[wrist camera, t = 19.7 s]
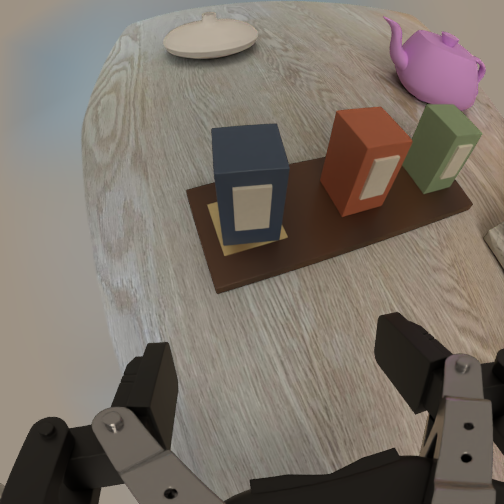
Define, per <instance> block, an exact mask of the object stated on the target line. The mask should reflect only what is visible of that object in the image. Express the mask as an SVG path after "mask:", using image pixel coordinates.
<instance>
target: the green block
mask: <svg viewBox="0 0 504 504" xmlns="http://www.w3.org/2000/svg"><path fill="white" fill-rule="evenodd" d="M481 135H482V133H481V131H480V130H479V129H478V128H477V127H476V126H475V125H474V124H473V123H472V122H471V121H470V120H469V119H468V118H467V117H466V116H465V115H464V114H463V113H462V112H461V111H460V110H459V109H458V108H457V107H456V106H455V105H454V104H427V105H426V107H425V109H424V112H423V114H422V116H421V119H420V121H419V123H418V126H417V128H416V130H415V133H414V135H413V137H412V141H413V142H412V145H411V147H410V149H409V151H408V153H407V155H406V158H405V160H404V162H403V164H402V166H403V167H404V168H405V170H406V171H407V172H408V174H409V175H410V176H411V178H412V179H413V180H414V182H415V183H416V184H417V186H418V187H419V188H420V190H421V191H422V193H423V194H426V193H430V192H433V191H437V190H441V189H444V188H448V187H450V186H451V184H452V183H453V181H454V180H455V178H456V177H457V175H458V173H459V172H460V170H461V169H462V167H463V166H464V164H465V162H466V161H467V159H468V157H469V156H470V154H471V152H472V151H473V149H474V147H475V146H476V144H477V142H478V141H479V139H480V137H481Z"/></svg>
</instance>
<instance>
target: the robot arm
mask: <svg viewBox="0 0 504 504" xmlns="http://www.w3.org/2000/svg"><path fill="white" fill-rule="evenodd" d="M374 353H375V359H376V361H377V363H378V365H379V366H380V367H381V369H382V370H383V371H384V373H385V374H386V375H387V377H388V378H389V379H390V381H391V382H392V383H393V385H394V386H395V388H396V389H397V390H398V392H399V393H400V394H401V396H402V397H403V398H404V400H405V401H406V402H407V404H408V405H409V406H410V408H411V409H412V411H413V412H414V413H415V415H416V414H418V413H421V412H424V411H426V410H427V411H428V412H429V414H428V417H427V420H426V426H425V431H424V436H423V441H422V445H421V450H420V454H419V456H399V454H398V452H397V451H396V449H395V448H392V449H389V450H386V451H383V452H380V453H376V454H373V455H370V456H367V457H363V458H361V459H359V460H357V461H355V462H353V463H352V464H350V465H348V466H346V467H344V468H342V469H339V470H337V471H335V472H333V473H331V474H325V475H282V476H275V477H268V478H260V479H251V480H250V486H251V489H250V490H247V491H244V492H242V493H239V494H237V495H234V496H233V497H231V498H229V499H227V500H226V501H224V502H223V501H222V500H221V499H220V498H219V497H218V496H217V495H216V494H215V493H213V492H212V491H211V490H210V489H209V488H208V487H207V486H206V485H205V484H204V483H203V482H202V481H201V480H200V479H199V478H198V477H197V476H196V475H195V474H194V473H193V472H192V471H191V470H190V469H189V468H188V467H187V466H186V465H185V464H184V463H183V462H182V461H181V460H180V459H179V458H178V457H177V456H176V455H175V454H174V453H173V452H172V451H171V450H170V448H171V440H172V432H173V425H174V417H175V410H176V403H177V396H178V379H177V374H176V370H175V366H174V362H173V358H172V354H171V349H170V346H169V343H168V342H160V343H148V344H147V346H146V349H145V352H144V355H143V356H141V357H135V358H134V359H133V360H132V361H131V362H130V363H129V364H128V365H127V367H126V369H125V372H124V376H123V377H122V379H121V383H120V384H119V387H118V389H117V392H116V395H115V397H114V400H113V402H112V405H111V408H107V409H105V410H103V411H101V412H99V413H98V414H97V415H96V416H95V417H94V419H93V421H92V424H91V425H87V426H82V427H75V428H68V426H67V424H66V423H65V421H63V420H62V419H60V418H58V417H47V418H44V419H41V420H39V421H38V422H36V423H35V424H34V425H33V426H32V428H31V429H30V431H29V433H28V435H27V437H26V440H25V442H24V444H23V446H22V448H21V450H20V453H19V455H18V457H17V459H16V462H15V464H14V466H13V468H12V471H11V473H10V476H9V478H8V481H7V483H6V485H5V488H4V490H3V493H2V496H1V498H0V504H98V503H99V497H100V491H101V487H107V486H113V485H119V484H126V486H127V487H128V489H129V490H130V491H131V493H132V494H133V496H134V497H135V498H136V500H137V501H138V503H139V504H504V482H501V481H497V480H494V479H492V466H493V441H494V443H495V444H496V445H497V447H498V448H499V450H500V451H501V452H502V454H503V455H504V349H501V350H500V351H499V352H498V353H497V356H496V359H495V362H491V363H484V364H480V362H479V361H478V360H477V359H476V358H474V357H473V356H470V355H467V354H452V353H451V352H450V351H449V350H447V349H446V348H445V347H444V346H443V345H442V344H441V343H440V342H439V341H437V340H436V339H434V337H433V336H432V335H431V334H428V332H427V331H426V330H425V329H424V328H423V327H422V326H420V325H418V324H415V323H413V322H411V321H408V320H407V319H406V318H404V317H403V316H402V315H401V314H400V313H399V312H395V313H390V314H385V315H381V316H379V318H378V323H377V332H376V340H375V349H374Z"/></svg>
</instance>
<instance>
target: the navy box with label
mask: <svg viewBox="0 0 504 504" xmlns="http://www.w3.org/2000/svg"><path fill="white" fill-rule="evenodd" d="M211 133H212V152H213V169H214V180H215V187H216V195H217V203H218V210H219V218H220V225H221V233H222V240H223V245H224V246H228V245H237V244H247V243H257V242H267V241H277V240H280V233H281V227H282V220H283V213H284V206H285V199H286V192H287V185H288V178H289V170H290V167H289V164H288V160H287V157H286V153H285V150H284V146H283V143H282V139H281V136H280V133H279V129H278V126H277V124H259V125H244V126H231V127H220V128H212V129H211Z"/></svg>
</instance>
